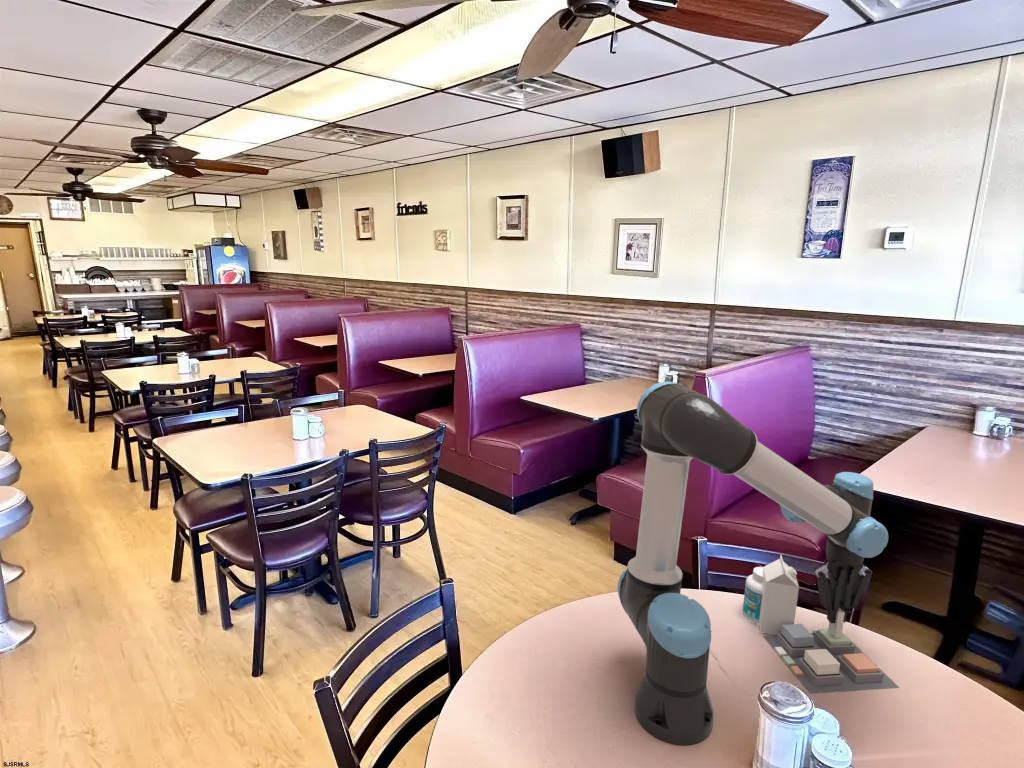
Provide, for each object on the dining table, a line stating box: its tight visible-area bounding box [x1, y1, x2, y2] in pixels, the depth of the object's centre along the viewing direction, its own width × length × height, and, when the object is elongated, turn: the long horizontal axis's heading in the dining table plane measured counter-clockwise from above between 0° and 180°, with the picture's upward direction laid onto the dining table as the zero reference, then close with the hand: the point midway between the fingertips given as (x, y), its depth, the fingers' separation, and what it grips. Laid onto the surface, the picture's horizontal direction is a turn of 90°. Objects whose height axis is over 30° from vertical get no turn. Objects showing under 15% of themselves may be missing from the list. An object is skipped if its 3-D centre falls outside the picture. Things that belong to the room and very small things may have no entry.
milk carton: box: [758, 554, 800, 635], centre depth 138 cm, size 7×7×19 cm
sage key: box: [817, 627, 852, 646], centre depth 132 cm, size 5×5×2 cm
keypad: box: [762, 629, 900, 695], centre depth 128 cm, size 20×19×3 cm
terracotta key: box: [842, 652, 880, 674], centre depth 123 cm, size 5×5×2 cm
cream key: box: [804, 649, 840, 675], centre depth 122 cm, size 5×5×2 cm
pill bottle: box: [741, 566, 764, 624], centre depth 143 cm, size 8×7×14 cm
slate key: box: [782, 623, 814, 647], centre depth 131 cm, size 5×5×2 cm
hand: (834, 633), depth 132 cm, fingers closed
